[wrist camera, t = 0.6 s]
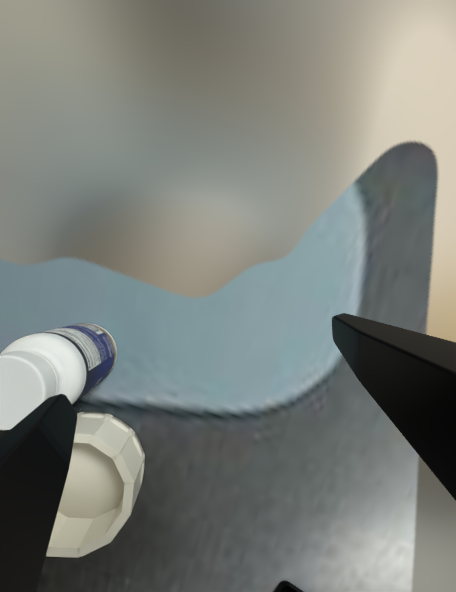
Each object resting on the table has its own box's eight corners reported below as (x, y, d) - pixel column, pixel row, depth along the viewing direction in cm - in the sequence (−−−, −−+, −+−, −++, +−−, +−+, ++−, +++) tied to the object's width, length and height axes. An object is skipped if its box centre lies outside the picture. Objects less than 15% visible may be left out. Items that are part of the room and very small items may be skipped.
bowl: (102, 540, 24) (83, 582, 20) (10, 481, 23) (-25, 513, 20) (166, 450, 24) (159, 477, 21) (77, 390, 24) (54, 407, 20)
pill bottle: (77, 394, 24) (-15, 465, 14) (44, 343, 24) (-73, 378, 14) (130, 362, 24) (77, 408, 14) (98, 311, 24) (21, 322, 14)
